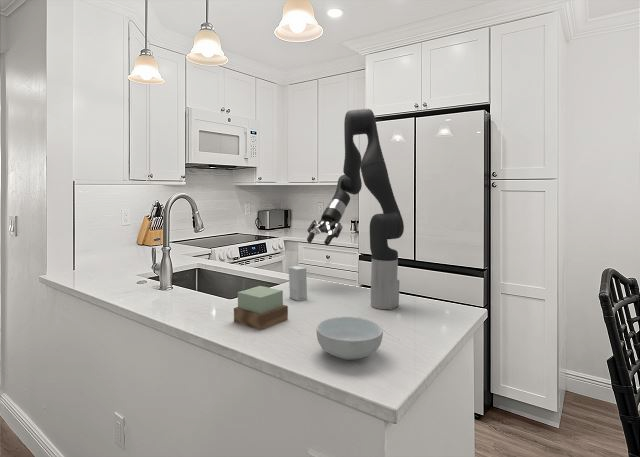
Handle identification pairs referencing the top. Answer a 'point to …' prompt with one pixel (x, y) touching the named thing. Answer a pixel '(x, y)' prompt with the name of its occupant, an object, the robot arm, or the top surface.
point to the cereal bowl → (349, 337)
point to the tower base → (261, 317)
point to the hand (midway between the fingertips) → (317, 243)
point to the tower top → (260, 299)
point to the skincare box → (298, 283)
